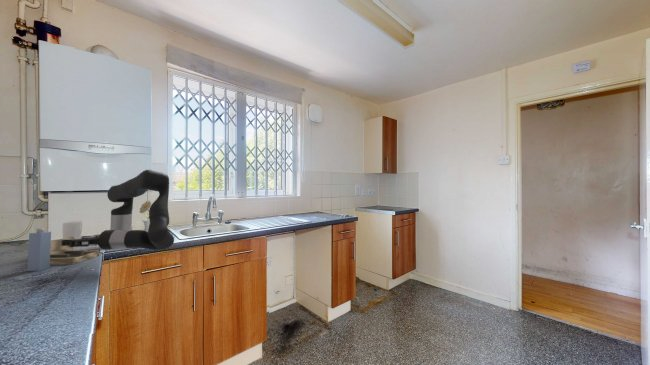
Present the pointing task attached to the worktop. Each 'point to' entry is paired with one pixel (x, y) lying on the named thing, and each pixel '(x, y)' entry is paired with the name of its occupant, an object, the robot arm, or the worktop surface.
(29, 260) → the blue square bottle
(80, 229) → the drinking glass
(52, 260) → the box
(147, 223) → the flower in vase
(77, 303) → the worktop surface
